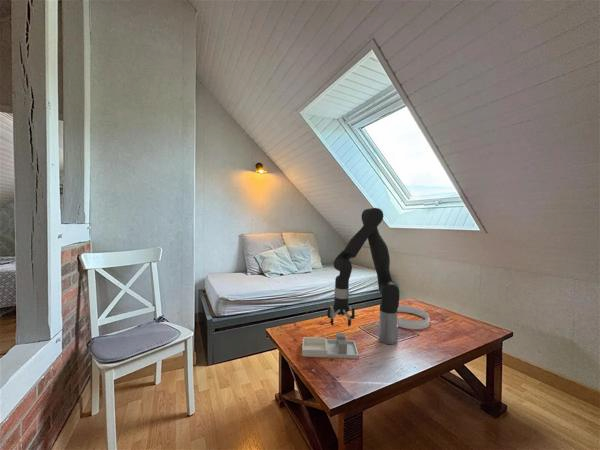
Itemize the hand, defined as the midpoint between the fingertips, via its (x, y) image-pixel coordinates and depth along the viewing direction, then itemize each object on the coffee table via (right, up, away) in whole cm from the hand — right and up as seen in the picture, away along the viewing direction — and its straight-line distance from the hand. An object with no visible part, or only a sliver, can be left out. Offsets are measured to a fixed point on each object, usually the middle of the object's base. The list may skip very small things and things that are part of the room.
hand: (340, 325), depth 134 cm
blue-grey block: (0, -11, 0) cm, 11 cm away
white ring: (+50, -10, +34) cm, 61 cm away
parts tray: (0, -12, -3) cm, 12 cm away
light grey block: (0, -11, -7) cm, 13 cm away
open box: (-14, -12, -4) cm, 19 cm away
